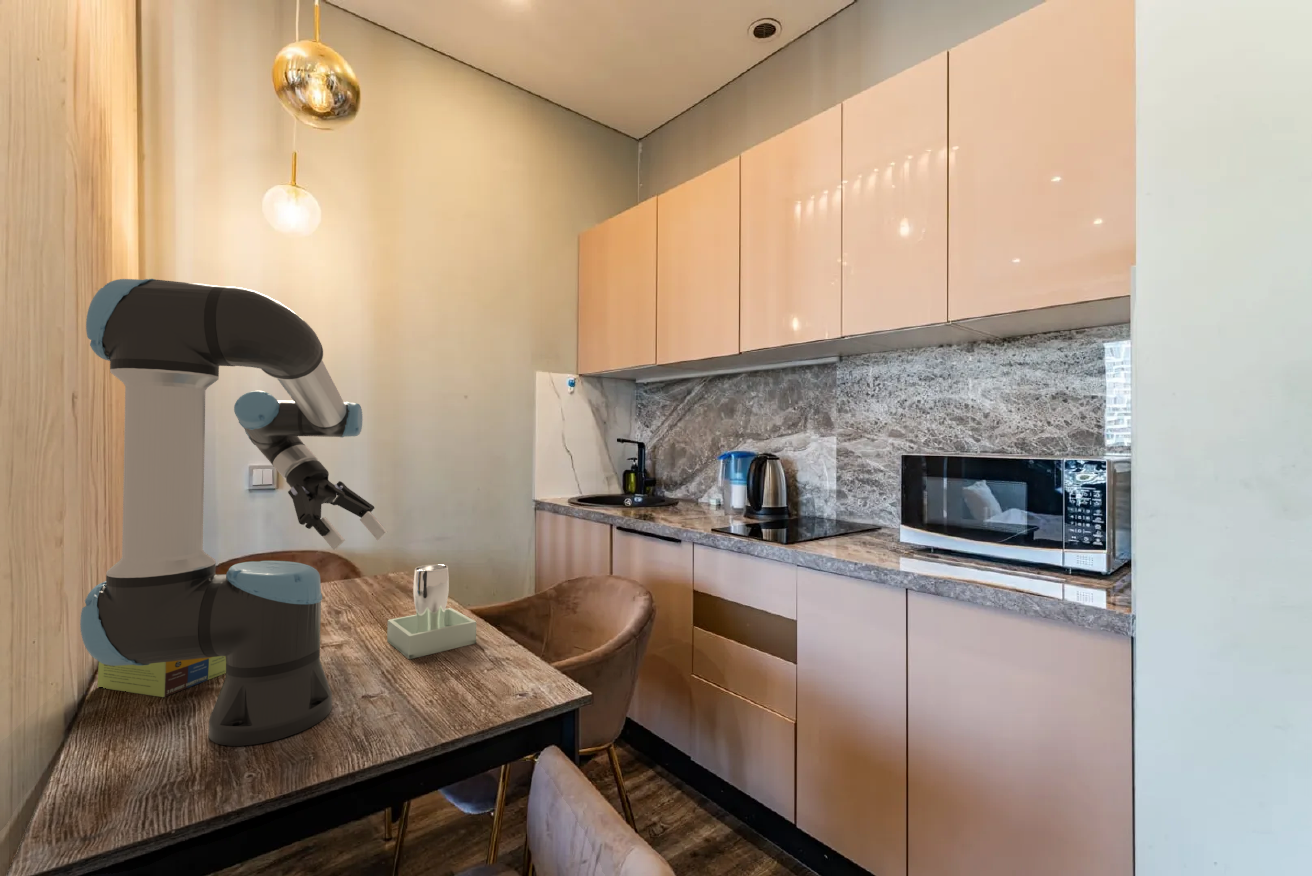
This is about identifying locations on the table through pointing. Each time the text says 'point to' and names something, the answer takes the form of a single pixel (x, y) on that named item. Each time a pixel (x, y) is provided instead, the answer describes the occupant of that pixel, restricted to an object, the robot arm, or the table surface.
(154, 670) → the protein box
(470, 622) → the bin
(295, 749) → the table surface
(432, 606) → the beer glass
